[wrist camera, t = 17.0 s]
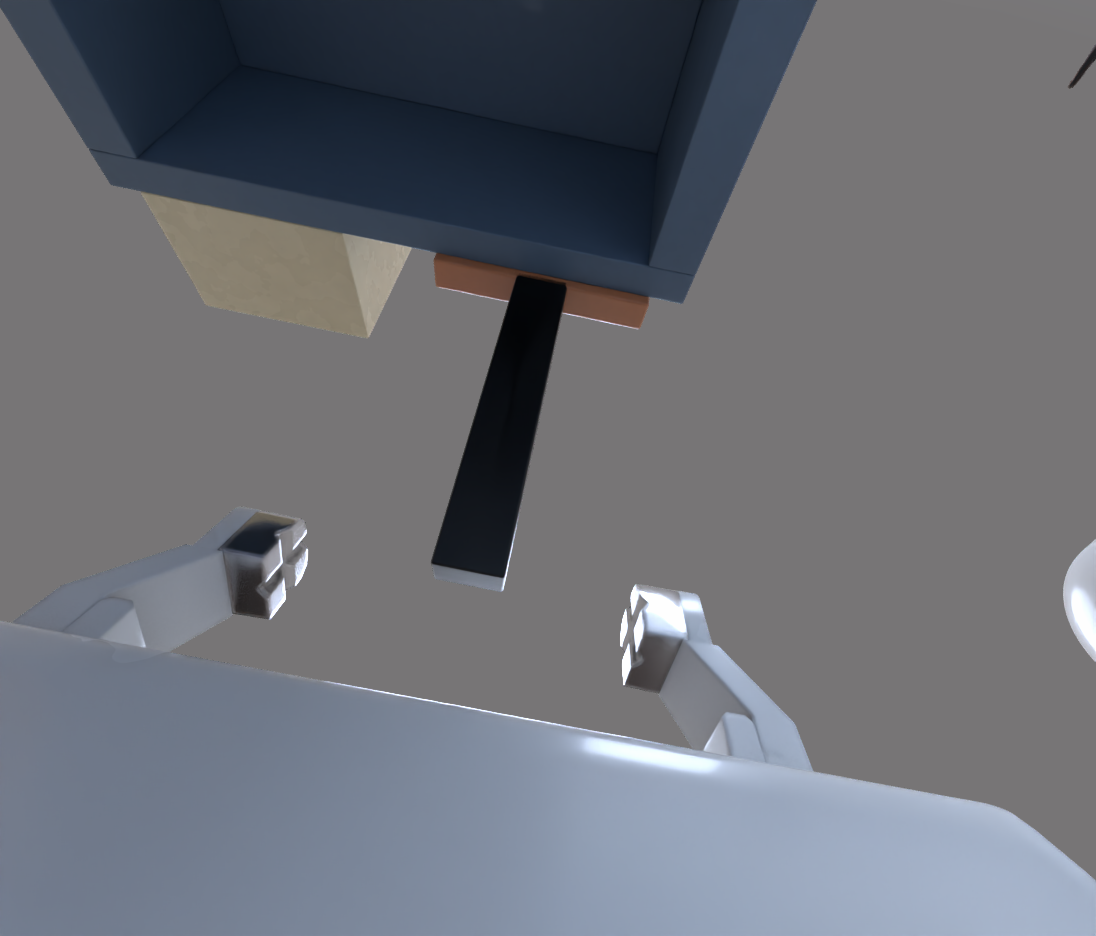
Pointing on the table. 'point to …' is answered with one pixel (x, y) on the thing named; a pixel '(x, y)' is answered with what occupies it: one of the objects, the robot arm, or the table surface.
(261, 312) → the cream rectangular block
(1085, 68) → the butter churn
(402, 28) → the shelf
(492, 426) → the black orange t-shaped piece
